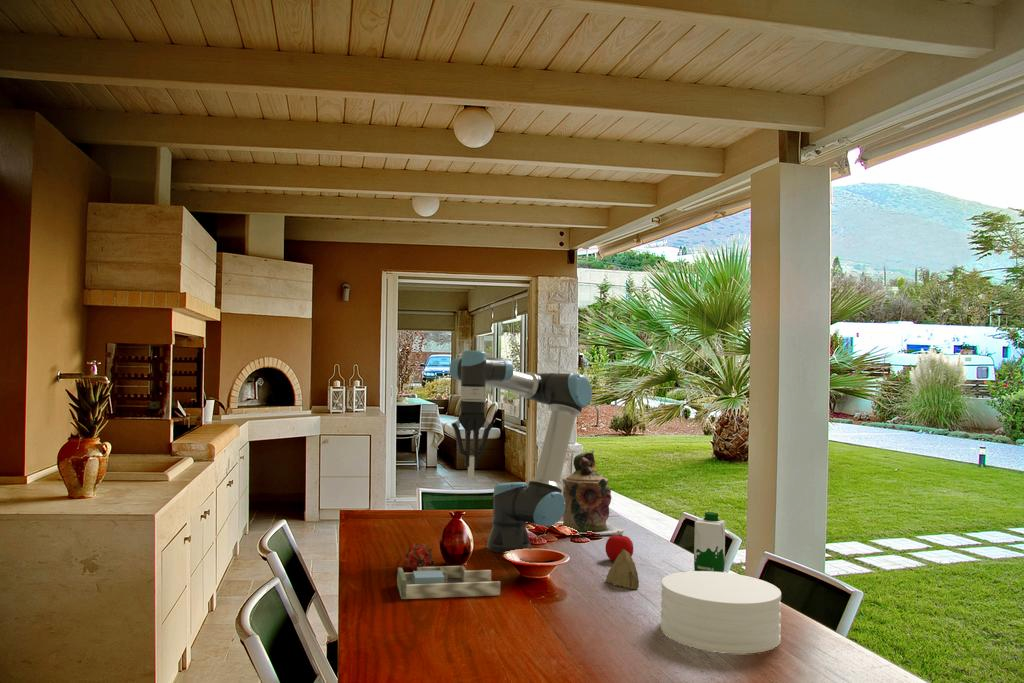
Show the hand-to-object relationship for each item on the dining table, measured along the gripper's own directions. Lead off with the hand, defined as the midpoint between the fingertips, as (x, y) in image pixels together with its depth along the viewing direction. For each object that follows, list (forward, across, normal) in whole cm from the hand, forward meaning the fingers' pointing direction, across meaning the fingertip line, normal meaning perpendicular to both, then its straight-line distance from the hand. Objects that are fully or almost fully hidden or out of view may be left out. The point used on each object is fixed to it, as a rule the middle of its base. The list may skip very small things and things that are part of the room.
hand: (470, 477), depth 233 cm
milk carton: (+30, +72, -17) cm, 80 cm away
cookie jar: (+30, +58, +58) cm, 87 cm away
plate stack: (+30, +50, -62) cm, 85 cm away
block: (+29, -15, -17) cm, 37 cm away
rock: (+30, +43, -19) cm, 55 cm away
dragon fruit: (+29, -14, +6) cm, 33 cm away
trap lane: (+29, -9, -14) cm, 33 cm away
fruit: (+30, +53, +9) cm, 61 cm away
